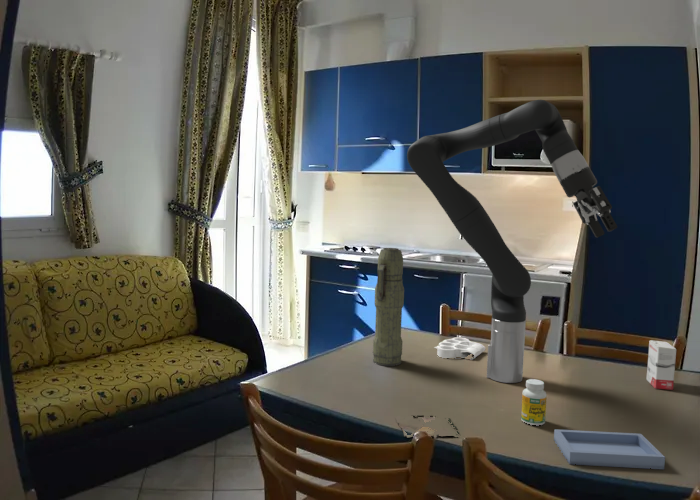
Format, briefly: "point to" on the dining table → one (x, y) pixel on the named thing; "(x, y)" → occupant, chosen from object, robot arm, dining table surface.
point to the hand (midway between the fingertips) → (606, 233)
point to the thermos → (388, 308)
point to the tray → (608, 449)
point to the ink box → (661, 365)
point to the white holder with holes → (459, 348)
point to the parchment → (426, 427)
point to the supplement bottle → (534, 403)
